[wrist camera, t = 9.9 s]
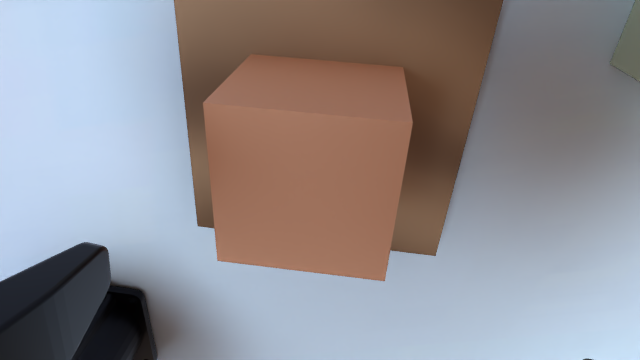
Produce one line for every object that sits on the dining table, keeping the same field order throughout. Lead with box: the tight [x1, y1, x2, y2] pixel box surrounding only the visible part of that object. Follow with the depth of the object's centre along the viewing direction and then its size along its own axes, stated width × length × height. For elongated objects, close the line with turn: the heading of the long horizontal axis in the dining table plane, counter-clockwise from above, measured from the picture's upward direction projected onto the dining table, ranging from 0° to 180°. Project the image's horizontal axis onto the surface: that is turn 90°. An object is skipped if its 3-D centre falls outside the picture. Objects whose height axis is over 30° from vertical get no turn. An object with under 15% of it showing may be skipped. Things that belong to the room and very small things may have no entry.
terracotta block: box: [203, 54, 413, 281], centre depth 15 cm, size 6×6×5 cm
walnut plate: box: [174, 0, 503, 256], centre depth 17 cm, size 11×11×2 cm
